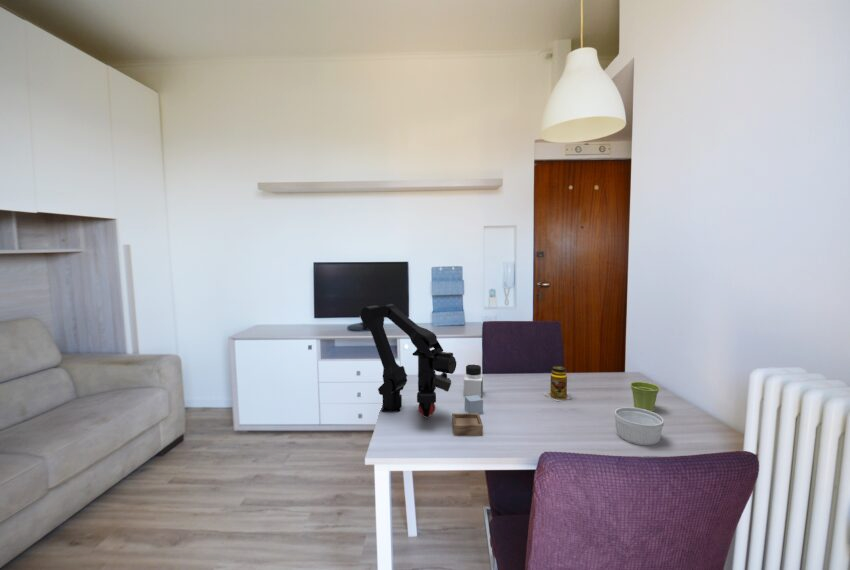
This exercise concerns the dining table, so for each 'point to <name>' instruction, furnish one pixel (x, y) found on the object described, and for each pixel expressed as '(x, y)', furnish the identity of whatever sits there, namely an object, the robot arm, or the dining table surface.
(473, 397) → the slate cube
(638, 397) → the plant pot
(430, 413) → the onion
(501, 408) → the dining table surface
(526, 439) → the dining table surface
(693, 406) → the dining table surface
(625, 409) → the ramekin
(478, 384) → the medicine bottle
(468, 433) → the wooden square tray
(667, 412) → the dining table surface
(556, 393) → the condiment
